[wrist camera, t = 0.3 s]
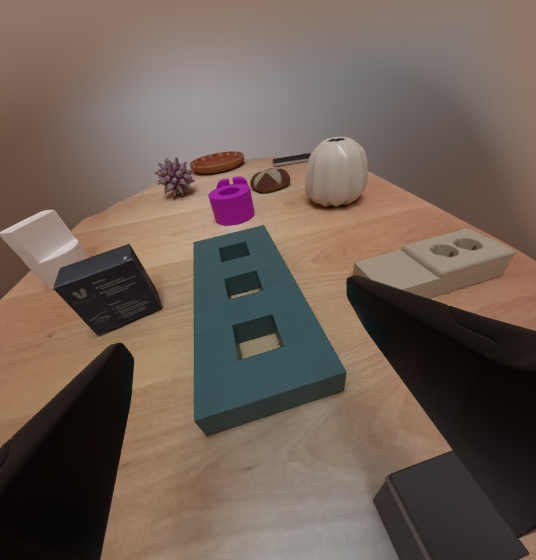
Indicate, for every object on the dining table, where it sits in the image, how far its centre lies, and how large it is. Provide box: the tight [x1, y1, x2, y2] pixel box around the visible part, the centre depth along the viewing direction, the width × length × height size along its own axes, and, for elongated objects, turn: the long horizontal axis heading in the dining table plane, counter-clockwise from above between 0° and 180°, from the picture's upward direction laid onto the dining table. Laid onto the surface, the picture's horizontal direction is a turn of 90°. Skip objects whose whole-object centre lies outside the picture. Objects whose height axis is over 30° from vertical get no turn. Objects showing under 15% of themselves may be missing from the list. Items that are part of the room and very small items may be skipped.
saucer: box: [190, 152, 244, 174], centre depth 102 cm, size 23×23×4 cm
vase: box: [305, 137, 368, 207], centre depth 55 cm, size 14×14×13 cm
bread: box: [250, 168, 290, 193], centre depth 73 cm, size 11×11×5 cm
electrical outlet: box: [353, 228, 515, 298], centre depth 33 cm, size 7×4×18 cm
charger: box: [373, 451, 529, 560], centre depth 14 cm, size 4×4×7 cm
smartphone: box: [273, 153, 311, 166], centre depth 93 cm, size 8×1×15 cm
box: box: [53, 244, 162, 336], centre depth 35 cm, size 9×6×10 cm, turn 119°
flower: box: [155, 158, 195, 196], centre depth 77 cm, size 12×12×12 cm
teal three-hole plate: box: [194, 225, 346, 436], centre depth 34 cm, size 32×14×4 cm, turn 14°
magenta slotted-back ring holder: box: [208, 177, 254, 225], centre depth 61 cm, size 16×10×6 cm, turn 5°
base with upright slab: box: [0, 210, 90, 289], centre depth 45 cm, size 9×9×12 cm
